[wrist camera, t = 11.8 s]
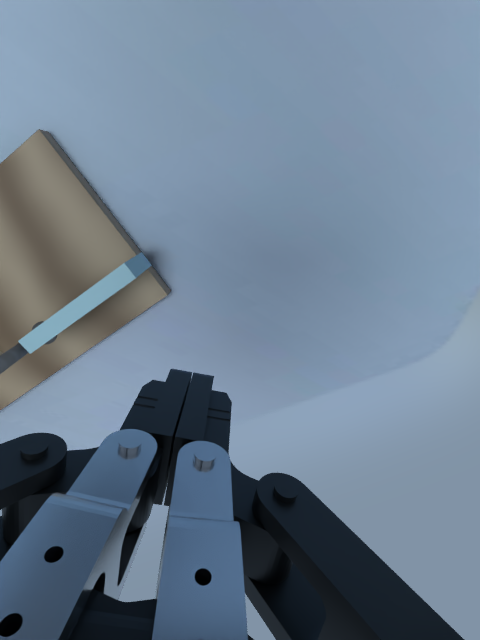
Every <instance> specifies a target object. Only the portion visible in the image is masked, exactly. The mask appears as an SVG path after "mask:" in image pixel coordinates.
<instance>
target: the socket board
mask: <svg viewBox="0 0 480 640" xmlns="http://www.w3.org/2000/svg"><path fill="white" fill-rule="evenodd" d="M139 253H141V251H140V250H139V249H138V247H137V246H136V245H135V243H134V242H133V241H132V240H131V238H130V237H129V236H128V234H127V233H126V232H125V230H124V229H123V228H122V227H121V225H120V224H119V223H118V221H117V220H116V219H115V217H114V216H113V215H112V214H111V212H110V211H109V210H108V208H107V207H106V206H105V204H104V203H103V202H102V201H101V199H100V198H99V197H98V195H97V194H96V193H95V191H94V190H93V189H92V188H91V186H90V185H89V184H88V182H87V181H86V180H85V178H84V177H83V176H82V175H81V173H80V172H79V171H78V169H77V168H76V167H75V165H74V164H73V163H72V162H71V160H70V159H69V158H68V156H67V155H66V154H65V152H64V151H63V150H62V149H61V147H60V146H59V145H58V143H57V142H56V141H55V139H54V138H53V137H52V136H51V134H50V133H49V132H47V131H43V130H40V129H39V130H38V131H36V132H35V133H34V134H33V135H32V136H31V137H30V138H29V139H28V140H26V141H25V142H24V143H23V144H22V145H21V146H20V147H19V148H17V149H16V150H15V151H14V152H13V153H12V154H11V155H10V156H8V157H7V158H6V159H5V160H4V161H3V162H2V163H1V164H0V410H1V409H3V408H4V407H6V406H7V405H9V404H10V403H12V402H13V401H15V400H16V399H17V398H19V397H20V396H22V395H23V394H25V393H26V392H28V391H29V390H31V389H32V388H33V387H35V386H36V385H38V384H39V383H41V382H42V381H44V380H45V379H47V378H48V377H49V376H51V375H52V374H54V373H55V372H57V371H58V370H60V369H61V368H63V367H64V366H65V365H67V364H68V363H70V362H71V361H73V360H74V359H76V358H77V357H78V356H80V355H81V354H83V353H84V352H86V351H87V350H89V349H90V348H92V347H93V346H94V345H96V344H97V343H99V342H100V341H102V340H103V339H105V338H106V337H108V336H109V335H110V334H112V333H113V332H115V331H116V330H118V329H119V328H121V327H122V326H124V325H125V324H126V323H128V322H129V321H131V320H132V319H134V318H135V317H137V316H138V315H140V314H141V313H142V312H144V311H145V310H147V309H148V308H150V307H151V306H153V305H154V304H156V303H157V302H158V301H160V300H161V299H163V298H164V297H166V296H167V295H168V294H169V293H170V291H171V290H170V289H169V288H168V286H167V285H166V284H165V282H164V281H163V280H162V279H161V277H160V276H159V275H158V273H157V272H156V271H155V269H154V268H153V267H152V266H150V267H149V268H148V269H147V270H145V271H144V272H143V273H142V274H140V275H139V276H138V277H137V278H135V279H134V280H133V281H131V282H130V283H129V284H127V285H126V286H124V287H123V288H122V289H120V290H119V291H117V292H116V293H115V294H113V295H112V296H110V297H109V298H108V299H106V300H105V301H103V302H102V303H101V304H99V305H98V306H96V307H95V308H94V309H92V310H91V311H89V312H88V313H87V314H85V315H84V316H82V317H81V318H80V319H78V320H77V321H75V322H74V323H73V324H71V325H70V326H69V327H67V328H66V329H64V330H63V331H62V332H60V333H59V334H57V335H56V336H55V337H53V338H52V339H50V340H49V341H48V342H46V343H45V344H43V345H42V346H41V347H39V348H38V349H36V350H35V351H34V352H32V353H31V354H30V353H29V352H28V351H27V350H26V349H25V348H24V347H23V346H22V345H21V344H20V343H19V342H18V341H19V340H20V339H21V338H23V337H24V336H25V335H27V334H28V333H29V332H31V331H32V330H34V329H35V328H36V327H38V326H39V325H40V324H42V323H43V322H44V321H46V320H47V319H49V318H50V317H51V316H53V315H54V314H55V313H57V312H58V311H59V310H61V309H62V308H64V307H65V306H66V305H68V304H69V303H70V302H72V301H73V300H74V299H76V298H77V297H78V296H80V295H81V294H83V293H84V292H85V291H87V290H88V289H89V288H91V287H92V286H93V285H95V284H96V283H98V282H99V281H100V280H102V279H103V278H104V277H106V276H107V275H108V274H110V273H111V272H113V271H114V270H115V269H117V268H118V267H119V266H121V265H122V264H123V263H125V262H127V261H128V260H130V259H131V258H133V257H135V256H136V255H138V254H139Z"/></svg>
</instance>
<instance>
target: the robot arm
mask: <svg viewBox="0 0 480 640" xmlns="http://www.w3.org/2000/svg"><path fill="white" fill-rule="evenodd" d="M191 376H192V372H187V371H182V370H176V369H171V370H170V372H169V375H168V377H167V379H166V382H162V381H156V380H152V381H150V382H149V383H147V384H146V385H144V386H143V387H142V389H141V391H140V393H139V395H138V397H137V398H136V400H135V402H134V405H133V406H132V408H131V410H130V412H129V414H128V415H127V417H126V419H125V421H124V423H123V425H122V427H121V429H120V430H119V431H116V432H114V433H112V434H110V435H109V436H107V437H106V438H105V439H104V441H103V442H102V444H101V445H100V446H99V447H97V448H92V449H85V450H70V451H67V445H66V443H65V441H64V440H63V439H62V438H61V437H59V436H57V435H54V434H50V433H33V434H28V435H24V436H21V437H19V438H16V439H13V440H10V441H8V442H5V443H2V444H0V510H1V509H2V516H0V640H253V638H251V637H250V636H249V635H248V633H247V618H246V603H245V593H246V595H247V597H248V598H249V599H250V601H251V603H252V604H253V606H254V607H255V609H256V610H257V611H258V613H259V615H260V616H261V618H262V619H263V621H264V622H265V623H266V625H267V627H268V628H269V630H270V631H271V632H272V634H273V635H274V637H275V639H276V640H464V639H463V638H462V637H461V636H460V635H459V634H458V633H457V632H455V630H454V629H453V628H451V627H450V625H448V624H447V623H446V622H445V621H444V620H443V619H442V618H441V617H440V616H439V615H438V614H437V613H436V612H435V611H434V610H433V609H432V608H431V607H430V606H429V605H428V604H427V603H426V602H424V600H423V599H422V598H421V597H420V596H418V595H417V594H416V593H415V592H414V591H413V590H412V589H411V588H410V587H409V586H408V585H407V584H406V583H405V582H404V581H403V580H402V579H401V578H400V577H399V576H398V575H397V574H396V573H395V572H394V571H393V570H391V568H390V567H388V565H387V564H385V562H383V561H382V560H381V559H380V558H379V557H378V556H377V555H376V554H375V553H374V552H373V551H372V550H371V549H370V548H369V547H368V546H367V545H366V544H365V543H364V542H363V541H362V540H361V539H360V538H359V537H358V536H357V535H356V534H355V533H354V532H352V531H351V530H350V529H349V528H348V527H347V526H346V525H345V524H344V523H343V522H342V521H341V520H340V519H339V518H338V517H337V516H336V515H335V514H334V513H333V512H332V511H331V510H330V509H329V508H328V507H327V506H326V505H325V504H324V503H322V501H321V500H320V499H319V498H317V497H316V496H315V495H314V494H313V493H312V492H311V491H310V490H309V489H308V488H307V487H306V486H305V485H304V484H303V483H301V481H299V480H297V479H296V478H294V477H292V476H290V475H287V474H283V473H270V474H267V475H265V476H264V477H262V478H261V479H260V480H259V481H258V480H255V479H253V478H250V477H249V476H246V475H245V474H243V473H241V472H240V471H238V470H237V469H236V468H235V467H234V466H233V464H232V463H231V461H230V457H229V454H228V450H229V434H230V420H231V405H232V402H231V400H230V398H229V397H228V395H227V393H224V392H219V391H213V390H212V384H213V378H214V376H210V375H204V374H199V373H193V376H192V379H191ZM190 382H191V383H190ZM167 483H168V484H167ZM166 487H167V490H166ZM165 490H166V496H165V503H164V505H166V506H169V511H168V516H167V522H166V528H165V534H164V541H163V548H162V554H161V561H160V567H159V574H158V581H157V588H156V595H155V599H151V600H144V601H137V602H121V601H118V599H119V596H120V594H121V591H122V589H123V586H124V583H125V581H126V578H127V576H128V573H129V570H130V568H131V565H132V563H133V560H134V557H135V555H136V552H137V550H138V547H139V545H140V542H141V539H142V537H143V534H144V532H145V528H146V522H147V520H148V518H149V516H150V513H151V509H152V506H153V504H159V505H162V502H163V498H164V494H165Z"/></svg>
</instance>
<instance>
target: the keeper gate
mask: <svg viewBox="0 0 480 640" xmlns="http://www.w3.org/2000/svg"><path fill="white" fill-rule="evenodd" d="M150 266H151V264H150V262H149V261H148V260H147V258H146V257H145V256H144V254H143V253H142V252H141V253H139V254H138V255H136V256H135V257H133V258H131V259H130V260H128V261H127V262H125V263H123V264H122V265H121V266H119V267H118V268H117V269H115V270H114V271H113V272H111V273H110V274H108V275H107V276H106V277H104V278H103V279H102V280H100V281H99V282H98V283H96V284H95V285H93V286H92V287H91V288H89V289H88V290H87V291H85V292H84V293H83V294H81V295H80V296H78V297H77V298H76V299H74V300H73V301H72V302H70V303H69V304H68V305H66V306H65V307H64V308H62V309H61V310H59V311H58V312H57V313H55V314H54V315H53V316H51V317H50V318H49V319H47V320H46V321H44V322H43V323H42V324H40V325H39V326H38V327H36V328H35V329H34V330H32V331H31V332H29V333H28V334H27V335H25V336H24V337H23V338H21V339H20V340H19V341H18V342H19V343H20V344H21V345H22V346H23V347H24V348H25V349H26V350H27V351H28V352H29V353H30V354H31V353H32V352H34V351H35V350H36V349H38V348H39V347H41V346H42V345H43V344H45V343H46V342H48V341H49V340H50V339H52V338H53V337H55V336H56V335H57V334H59V333H60V332H62V331H63V330H64V329H66V328H67V327H69V326H70V325H71V324H73V323H74V322H75V321H77V320H78V319H80V318H81V317H82V316H84V315H85V314H87V313H88V312H89V311H91V310H92V309H94V308H95V307H96V306H98V305H99V304H101V303H102V302H103V301H105V300H106V299H108V298H109V297H110V296H112V295H113V294H115V293H116V292H117V291H119V290H120V289H122V288H123V287H124V286H126V285H127V284H129V283H130V282H131V281H133V280H134V279H135V278H137V277H138V276H139V275H140V274H142V273H143V272H144V271H145V270H147V269H148V268H149V267H150Z"/></svg>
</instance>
